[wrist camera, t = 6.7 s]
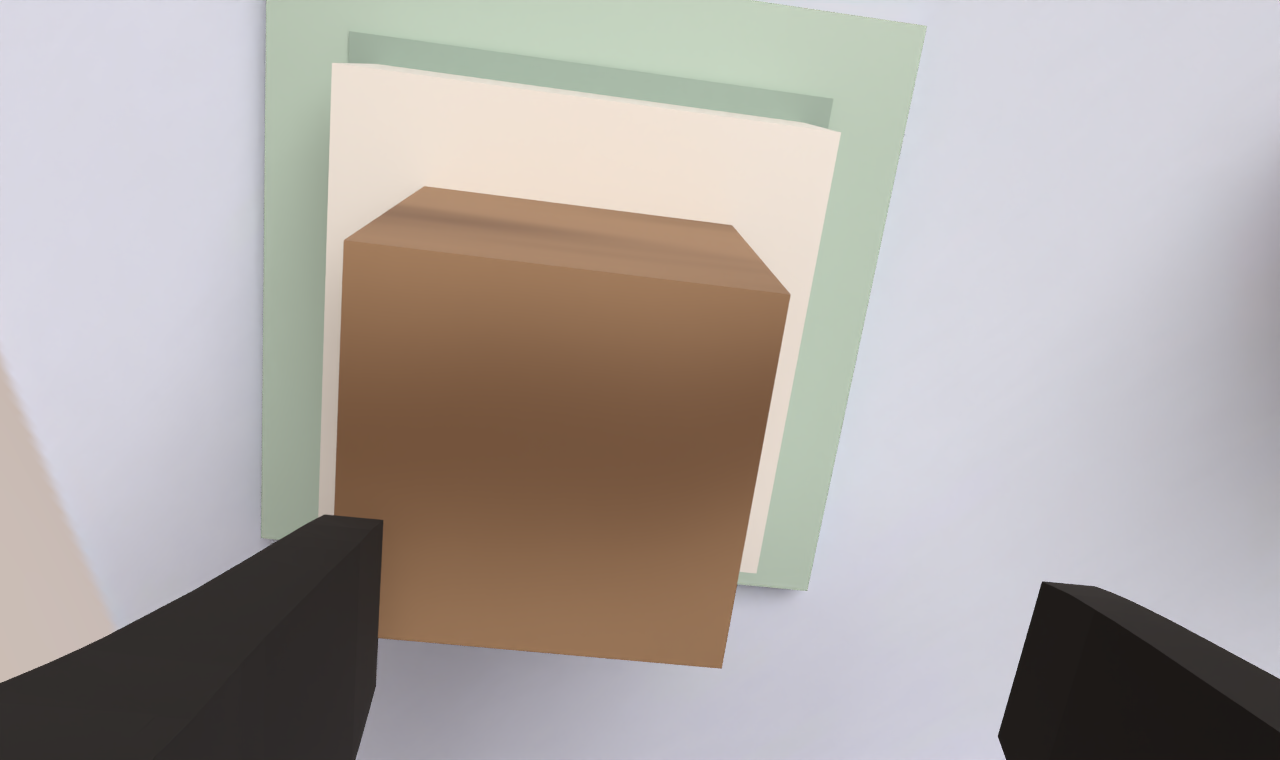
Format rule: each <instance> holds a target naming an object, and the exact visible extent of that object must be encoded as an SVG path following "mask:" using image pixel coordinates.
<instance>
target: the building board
mask: <svg viewBox="0 0 1280 760" xmlns="http://www.w3.org/2000/svg"><path fill="white" fill-rule="evenodd" d="M926 29H927V26H923V25H917V24H910V23H903V22H896V21H889V20H883V19H876V18H869V17H862V16H855V15H849V14H842V13H835V12H828V11H821V10H815V9H808V8H801V7H794V6H787V5H781V4H774V3H767V2H760V1H753V0H266V74H265V179H264V283H263V387H262V492H261V538H265V539H275V540H280V539H281V538H283V537H285V536H286V535H288V534H290V533H291V532H293V531H295V530H296V529H298V528H300V527H302V526H303V525H305V524H307V523H309V522H310V521H312V520H314V519H316V518H318V509H319V475H320V442H321V409H322V376H323V343H324V310H325V276H326V243H327V210H328V177H329V144H330V111H331V77H332V63H362V64H381V65H389V66H396V67H403V68H410V69H418V70H425V71H432V72H440V73H447V74H454V75H461V76H469V77H476V78H483V79H491V80H498V81H505V82H512V83H520V84H527V85H534V86H542V87H549V88H556V89H563V90H571V91H578V92H585V93H593V94H600V95H607V96H614V97H622V98H629V99H636V100H644V101H651V102H658V103H665V104H673V105H680V106H687V107H695V108H702V109H709V110H717V111H724V112H731V113H738V114H746V115H753V116H760V117H768V118H775V119H782V120H789V121H797V122H803V123H807V124H811V125H815V126H819V127H822V128H826V129H830V130H834V131H837V132H841V136H840V141H839V146H838V152H837V157H836V162H835V167H834V172H833V178H832V183H831V188H830V193H829V198H828V204H827V209H826V214H825V219H824V224H823V230H822V235H821V240H820V245H819V250H818V256H817V261H816V266H815V271H814V276H813V282H812V287H811V292H810V297H809V302H808V308H807V313H806V318H805V323H804V329H803V334H802V339H801V344H800V349H799V355H798V360H797V365H796V370H795V375H794V381H793V386H792V391H791V396H790V401H789V407H788V412H787V417H786V422H785V427H784V433H783V438H782V443H781V448H780V453H779V459H778V464H777V469H776V474H775V479H774V485H773V490H772V495H771V500H770V505H769V511H768V516H767V521H766V526H765V531H764V537H763V542H762V547H761V552H760V557H759V563H758V568H757V573H746V572H739V577H738V582H737V584H740V585H750V586H761V587H771V588H781V589H792V590H802V591H807V589H808V584H809V580H810V575H811V570H812V566H813V561H814V556H815V551H816V547H817V542H818V537H819V533H820V528H821V523H822V519H823V514H824V509H825V504H826V500H827V495H828V490H829V486H830V481H831V476H832V471H833V467H834V462H835V457H836V453H837V448H838V443H839V438H840V434H841V429H842V424H843V420H844V415H845V410H846V405H847V401H848V396H849V391H850V387H851V382H852V377H853V372H854V368H855V363H856V358H857V354H858V349H859V344H860V339H861V335H862V330H863V325H864V321H865V316H866V311H867V306H868V302H869V297H870V292H871V288H872V283H873V278H874V274H875V269H876V264H877V259H878V255H879V250H880V245H881V241H882V236H883V231H884V226H885V222H886V217H887V212H888V208H889V203H890V198H891V193H892V189H893V184H894V179H895V175H896V170H897V165H898V160H899V156H900V151H901V146H902V142H903V137H904V132H905V127H906V123H907V118H908V113H909V109H910V104H911V99H912V94H913V90H914V85H915V80H916V76H917V71H918V66H919V62H920V57H921V52H922V47H923V43H924V38H925V33H926Z"/></svg>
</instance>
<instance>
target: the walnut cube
mask: <svg viewBox="0 0 1280 760" xmlns="http://www.w3.org/2000/svg"><path fill="white" fill-rule="evenodd" d="M790 296H791V294H790V293H789V292H788V291H787V289H786V288H785V287H784V286H783V285H782V284H781V282H780V281H779V280H778V279H777V278H776V276H775V275H774V274H773V273H772V272H771V271H770V269H769V268H768V267H767V266H766V265H765V263H764V262H763V261H762V260H761V259H760V258H759V256H758V255H757V254H756V253H755V252H754V250H753V249H752V248H751V247H750V246H749V244H748V243H747V242H746V241H745V240H744V239H743V237H742V236H741V235H740V234H739V233H738V231H737V230H736V229H735V228H734V227H733V226H732V225H727V224H719V223H711V222H703V221H696V220H688V219H680V218H672V217H664V216H656V215H648V214H640V213H632V212H625V211H617V210H609V209H601V208H593V207H585V206H577V205H569V204H562V203H554V202H546V201H538V200H530V199H522V198H514V197H506V196H498V195H491V194H483V193H475V192H467V191H459V190H451V189H443V188H435V187H428V186H424V187H422V188H421V189H419V190H418V191H416V192H415V193H413V194H412V195H410V196H409V197H407V198H406V199H404V200H403V201H401V202H400V203H398V204H397V205H395V206H394V207H392V208H391V209H389V210H388V211H386V212H385V213H383V214H382V215H380V216H379V217H377V218H376V219H374V220H373V221H371V222H370V223H369V224H367V225H366V226H364V227H363V228H361V229H360V230H358V231H357V232H355V233H354V234H352V235H351V236H349V237H348V238H346V239H345V240H344V244H343V273H342V302H341V330H340V359H339V387H338V416H337V444H336V473H335V501H334V515H337V516H347V517H358V518H369V519H379V520H383V541H382V562H381V584H380V606H379V627H378V638H384V639H395V640H406V641H418V642H429V643H440V644H451V645H463V646H474V647H485V648H496V649H508V650H519V651H530V652H541V653H553V654H564V655H575V656H586V657H598V658H609V659H620V660H631V661H643V662H654V663H665V664H676V665H688V666H699V667H710V668H721V669H722V663H723V658H724V653H725V647H726V642H727V636H728V631H729V626H730V620H731V615H732V609H733V604H734V599H735V593H736V588H737V582H738V577H739V572H740V566H741V561H742V555H743V550H744V545H745V539H746V534H747V528H748V523H749V518H750V512H751V507H752V501H753V496H754V490H755V485H756V480H757V474H758V469H759V463H760V458H761V453H762V447H763V442H764V436H765V431H766V426H767V420H768V415H769V409H770V404H771V399H772V393H773V388H774V382H775V377H776V372H777V366H778V361H779V355H780V350H781V345H782V339H783V334H784V328H785V323H786V318H787V312H788V307H789V301H790Z"/></svg>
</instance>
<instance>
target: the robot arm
mask: <svg viewBox="0 0 1280 760" xmlns="http://www.w3.org/2000/svg"><path fill="white" fill-rule="evenodd" d="M382 541H383V520H379V519H369V518H358V517H347V516H337V515H326V514H325V515H322V516H320V517H318V518H316V519H314V520H312V521H310V522H309V523H307V524H305V525H303V526H302V527H300V528H298V529H296V530H295V531H293V532H291V533H290V534H288V535H286V536H285V537H283V538H281V539H280V540H278V541H276V542H275V543H273V544H272V545H270V546H268V547H267V548H265V549H263V550H262V551H260V552H258V553H257V554H255V555H253V556H252V557H250V558H248V559H247V560H245V561H243V562H241V563H240V564H238V565H236V566H235V567H233V568H231V569H229V570H228V571H226V572H224V573H223V574H221V575H219V576H218V577H216V578H214V579H212V580H211V581H209V582H207V583H206V584H204V585H202V586H201V587H199V588H197V589H195V590H193V591H192V592H190V593H188V594H186V595H184V596H182V597H180V598H178V599H176V600H174V601H173V602H171V603H169V604H167V605H165V606H163V607H161V608H159V609H157V610H155V611H154V612H152V613H150V614H148V615H146V616H144V617H142V618H140V619H138V620H136V621H134V622H133V623H131V624H129V625H127V626H125V627H123V628H121V629H119V630H117V631H115V632H113V633H112V634H110V635H108V636H106V637H104V638H102V639H100V640H98V641H96V642H93V643H91V644H89V645H87V646H85V647H83V648H81V649H79V650H76V651H74V652H72V653H70V654H68V655H65V656H63V657H61V658H59V659H56V660H54V661H52V662H50V663H48V664H45V665H43V666H40V667H38V668H36V669H33V670H31V671H28V672H26V673H24V674H21V675H19V676H17V677H14V678H12V679H9V680H7V681H4V682H2V683H0V760H355V759H356V755H357V752H358V748H359V745H360V742H361V738H362V735H363V731H364V727H365V724H366V720H367V716H368V713H369V709H370V705H371V702H372V698H373V694H374V691H375V687H376V670H377V649H378V627H379V606H380V584H381V562H382ZM998 738H999V741H1000V744H1001V746H1002V749H1003V752H1004V755H1005V758H1006V760H1280V679H1279V678H1277V677H1275V676H1273V675H1271V674H1269V673H1268V672H1266V671H1264V670H1262V669H1260V668H1258V667H1256V666H1255V665H1253V664H1251V663H1249V662H1247V661H1245V660H1243V659H1242V658H1240V657H1238V656H1236V655H1234V654H1232V653H1230V652H1229V651H1227V650H1225V649H1223V648H1221V647H1219V646H1217V645H1216V644H1214V643H1212V642H1210V641H1208V640H1206V639H1204V638H1202V637H1201V636H1199V635H1197V634H1195V633H1193V632H1191V631H1189V630H1187V629H1186V628H1184V627H1182V626H1180V625H1178V624H1176V623H1174V622H1172V621H1170V620H1168V619H1167V618H1165V617H1163V616H1161V615H1159V614H1157V613H1155V612H1153V611H1151V610H1149V609H1147V608H1145V607H1143V606H1140V605H1138V604H1136V603H1134V602H1132V601H1130V600H1128V599H1125V598H1123V597H1121V596H1118V595H1116V594H1114V593H1111V592H1109V591H1106V590H1103V589H1101V588H1098V587H1095V586H1085V585H1074V584H1064V583H1053V582H1042V584H1041V587H1040V591H1039V594H1038V598H1037V601H1036V605H1035V608H1034V612H1033V615H1032V619H1031V622H1030V626H1029V629H1028V633H1027V636H1026V640H1025V643H1024V647H1023V650H1022V654H1021V657H1020V661H1019V664H1018V668H1017V671H1016V675H1015V678H1014V682H1013V685H1012V689H1011V692H1010V696H1009V699H1008V703H1007V706H1006V710H1005V713H1004V717H1003V720H1002V724H1001V727H1000V731H999V734H998Z"/></svg>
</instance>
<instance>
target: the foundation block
mask: <svg viewBox="0 0 1280 760" xmlns="http://www.w3.org/2000/svg"><path fill="white" fill-rule="evenodd" d="M840 136H841V132H837V131H834V130H830V129H826V128H822V127H819V126H815V125H811V124H807V123H803V122H797V121H789V120H782V119H775V118H768V117H760V116H753V115H746V114H738V113H731V112H724V111H717V110H709V109H702V108H695V107H687V106H680V105H673V104H665V103H658V102H651V101H644V100H636V99H629V98H622V97H614V96H607V95H600V94H593V93H585V92H578V91H571V90H563V89H556V88H549V87H542V86H534V85H527V84H520V83H512V82H505V81H498V80H491V79H483V78H476V77H469V76H461V75H454V74H447V73H440V72H432V71H425V70H418V69H410V68H403V67H396V66H389V65H381V64H362V63H332V77H331V111H330V144H329V177H328V210H327V243H326V276H325V310H324V343H323V376H322V409H321V442H320V475H319V509H318V517H320V516H322V515H325V514H326V515H334V501H335V473H336V444H337V416H338V387H339V359H340V330H341V302H342V273H343V244H344V240H345V239H346V238H348V237H349V236H351V235H352V234H354V233H355V232H357V231H358V230H360V229H361V228H363V227H364V226H366V225H367V224H369V223H370V222H371V221H373V220H374V219H376V218H377V217H379V216H380V215H382V214H383V213H385V212H386V211H388V210H389V209H391V208H392V207H394V206H395V205H397V204H398V203H400V202H401V201H403V200H404V199H406V198H407V197H409V196H410V195H412V194H413V193H415V192H416V191H418V190H419V189H421V188H422V187H424V186H428V187H435V188H443V189H451V190H459V191H467V192H475V193H483V194H491V195H498V196H506V197H514V198H522V199H530V200H538V201H546V202H554V203H562V204H569V205H577V206H585V207H593V208H601V209H609V210H617V211H625V212H632V213H640V214H648V215H656V216H664V217H672V218H680V219H688V220H696V221H703V222H711V223H719V224H727V225H732V226H733V227H734V228H735V229H736V230H737V231H738V233H739V234H740V235H741V236H742V237H743V239H744V240H745V241H746V242H747V243H748V244H749V246H750V247H751V248H752V249H753V250H754V252H755V253H756V254H757V255H758V256H759V258H760V259H761V260H762V261H763V262H764V263H765V265H766V266H767V267H768V268H769V269H770V271H771V272H772V273H773V274H774V275H775V276H776V278H777V279H778V280H779V281H780V282H781V284H782V285H783V286H784V287H785V288H786V289H787V291H788V292H789V293H790V294H791V296H790V301H789V307H788V312H787V318H786V323H785V328H784V334H783V339H782V345H781V350H780V355H779V361H778V366H777V372H776V377H775V382H774V388H773V393H772V399H771V404H770V409H769V415H768V420H767V426H766V431H765V436H764V442H763V447H762V453H761V458H760V463H759V469H758V474H757V480H756V485H755V490H754V496H753V501H752V507H751V512H750V518H749V523H748V528H747V534H746V539H745V545H744V550H743V555H742V561H741V566H740V572H746V573H757V568H758V563H759V557H760V552H761V547H762V542H763V537H764V531H765V526H766V521H767V516H768V511H769V505H770V500H771V495H772V490H773V485H774V479H775V474H776V469H777V464H778V459H779V453H780V448H781V443H782V438H783V433H784V427H785V422H786V417H787V412H788V407H789V401H790V396H791V391H792V386H793V381H794V375H795V370H796V365H797V360H798V355H799V349H800V344H801V339H802V334H803V329H804V323H805V318H806V313H807V308H808V302H809V297H810V292H811V287H812V282H813V276H814V271H815V266H816V261H817V256H818V250H819V245H820V240H821V235H822V230H823V224H824V219H825V214H826V209H827V204H828V198H829V193H830V188H831V183H832V178H833V172H834V167H835V162H836V157H837V152H838V146H839V141H840Z"/></svg>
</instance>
